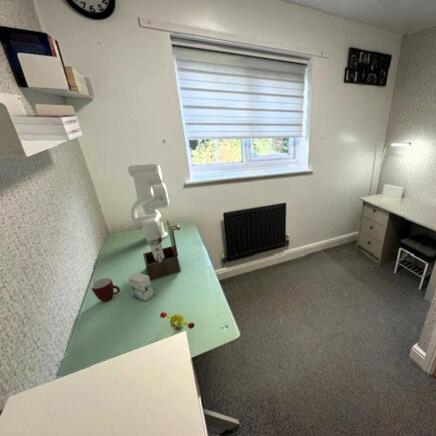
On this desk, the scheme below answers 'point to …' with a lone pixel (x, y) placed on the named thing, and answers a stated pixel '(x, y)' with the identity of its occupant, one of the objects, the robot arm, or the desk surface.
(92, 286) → the mug
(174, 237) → the lid
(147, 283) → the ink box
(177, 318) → the spiky dumbbell toy
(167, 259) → the chest
